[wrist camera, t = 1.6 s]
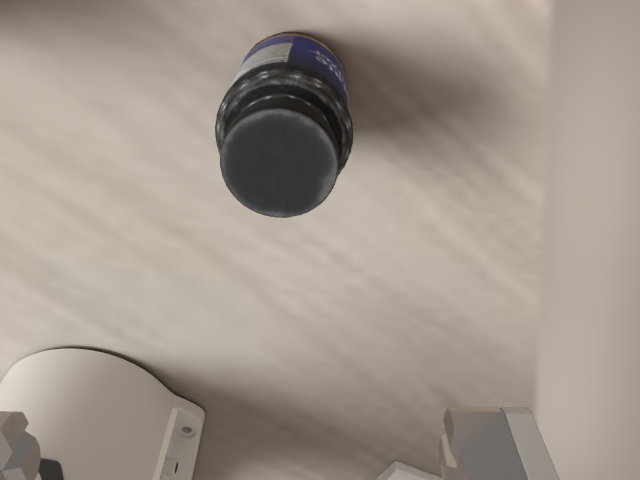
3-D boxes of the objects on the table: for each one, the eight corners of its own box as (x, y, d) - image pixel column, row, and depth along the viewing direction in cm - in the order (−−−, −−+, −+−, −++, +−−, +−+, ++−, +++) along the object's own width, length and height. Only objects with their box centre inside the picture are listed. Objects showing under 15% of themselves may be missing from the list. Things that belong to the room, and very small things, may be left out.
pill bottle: (363, 111, 31) (382, 201, 21) (271, 153, 32) (250, 255, 23) (317, 7, 28) (315, 60, 18) (217, 59, 29) (169, 132, 20)
